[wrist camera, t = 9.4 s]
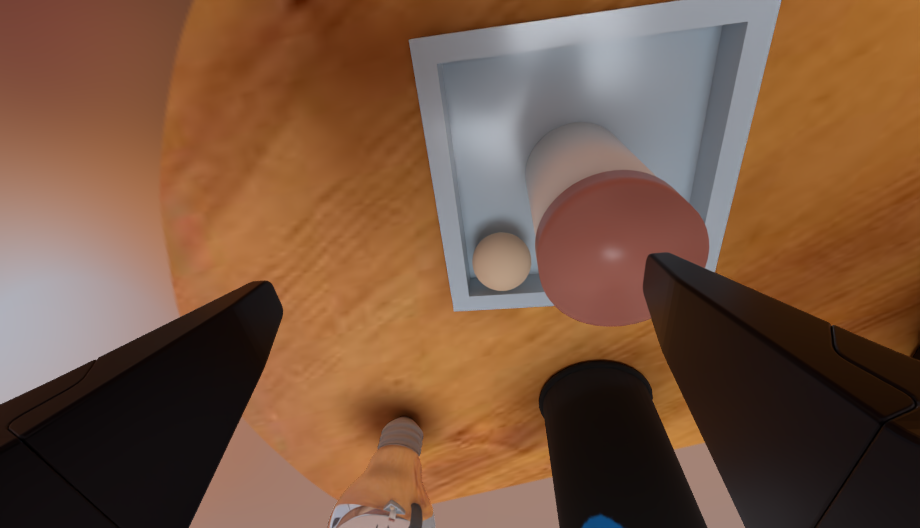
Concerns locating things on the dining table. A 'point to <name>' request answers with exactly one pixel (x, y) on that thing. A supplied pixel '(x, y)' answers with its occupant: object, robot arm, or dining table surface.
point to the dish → (586, 114)
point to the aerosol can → (612, 452)
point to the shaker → (603, 224)
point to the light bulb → (388, 485)
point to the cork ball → (501, 261)
